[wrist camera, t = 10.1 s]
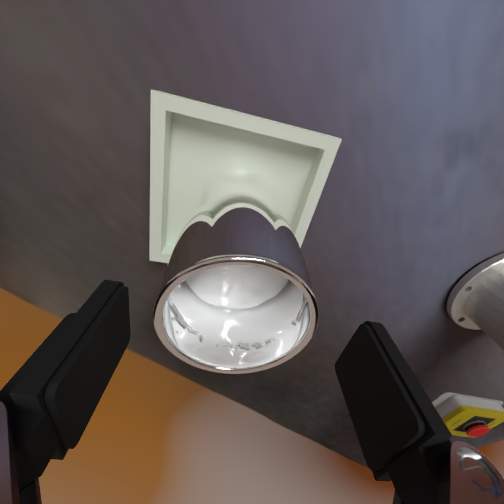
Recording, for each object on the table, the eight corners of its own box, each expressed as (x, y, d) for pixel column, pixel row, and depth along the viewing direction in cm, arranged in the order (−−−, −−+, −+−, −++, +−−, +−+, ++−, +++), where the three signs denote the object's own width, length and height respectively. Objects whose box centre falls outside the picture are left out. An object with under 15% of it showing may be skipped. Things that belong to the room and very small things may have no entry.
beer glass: (191, 218, 23) (131, 358, 10) (215, 146, 20) (172, 221, 7) (256, 242, 25) (275, 388, 12) (288, 180, 22) (361, 288, 9)
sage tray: (331, 135, 20) (341, 139, 18) (283, 267, 27) (287, 281, 25) (161, 91, 18) (150, 89, 16) (156, 247, 25) (149, 260, 23)
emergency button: (485, 446, 48) (425, 439, 45) (467, 421, 52) (410, 413, 48) (525, 424, 43) (462, 414, 40) (502, 399, 47) (443, 388, 44)
